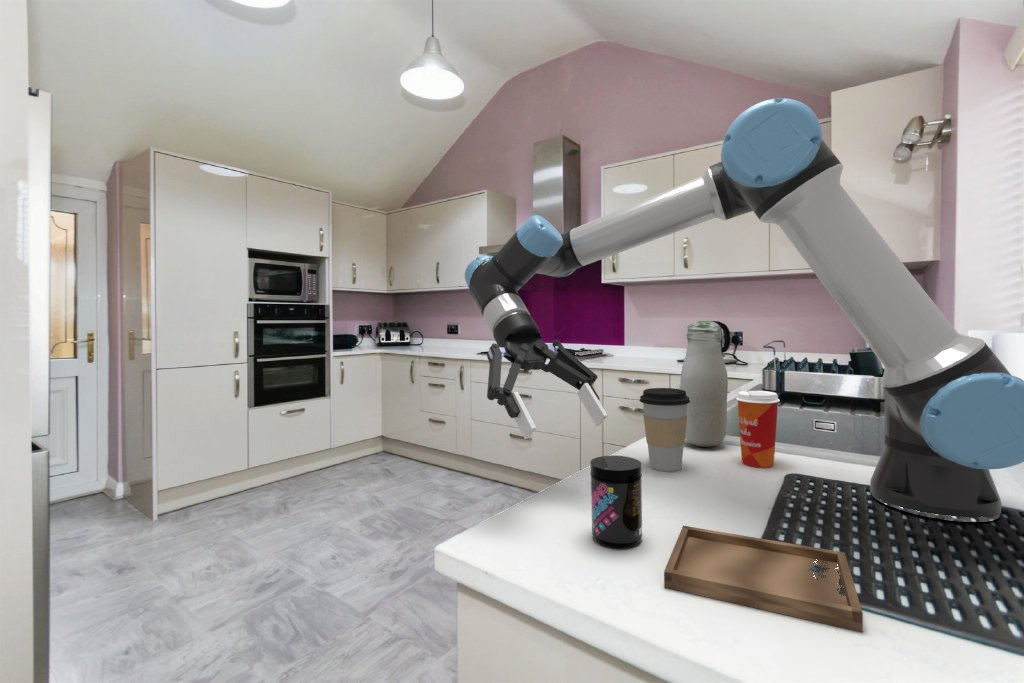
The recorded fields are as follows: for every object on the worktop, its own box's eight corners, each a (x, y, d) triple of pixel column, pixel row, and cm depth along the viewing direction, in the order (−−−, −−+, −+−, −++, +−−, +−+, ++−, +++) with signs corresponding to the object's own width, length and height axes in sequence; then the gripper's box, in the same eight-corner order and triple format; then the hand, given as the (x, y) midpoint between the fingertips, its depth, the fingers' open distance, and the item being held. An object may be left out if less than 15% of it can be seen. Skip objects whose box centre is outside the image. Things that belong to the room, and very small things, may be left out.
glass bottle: (681, 450, 108) (680, 322, 106) (680, 438, 117) (679, 321, 116) (730, 453, 105) (730, 321, 103) (725, 441, 114) (725, 320, 113)
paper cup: (729, 458, 101) (729, 390, 100) (767, 457, 101) (767, 389, 100) (746, 470, 93) (746, 396, 93) (788, 469, 93) (788, 395, 92)
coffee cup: (694, 475, 91) (693, 394, 90) (641, 473, 93) (640, 394, 92) (687, 460, 100) (686, 387, 99) (639, 459, 102) (638, 387, 101)
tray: (844, 567, 58) (844, 552, 57) (862, 632, 46) (862, 613, 46) (683, 538, 66) (682, 525, 66) (664, 587, 54) (664, 571, 54)
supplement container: (593, 526, 71) (592, 454, 70) (642, 530, 69) (641, 456, 68) (589, 547, 64) (587, 469, 64) (642, 552, 62) (641, 471, 62)
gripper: (560, 337, 95) (616, 429, 83) (440, 344, 82) (487, 454, 70) (577, 309, 90) (640, 401, 78) (452, 311, 77) (505, 423, 65)
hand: (568, 427), depth 74 cm, fingers open, 13 cm apart
